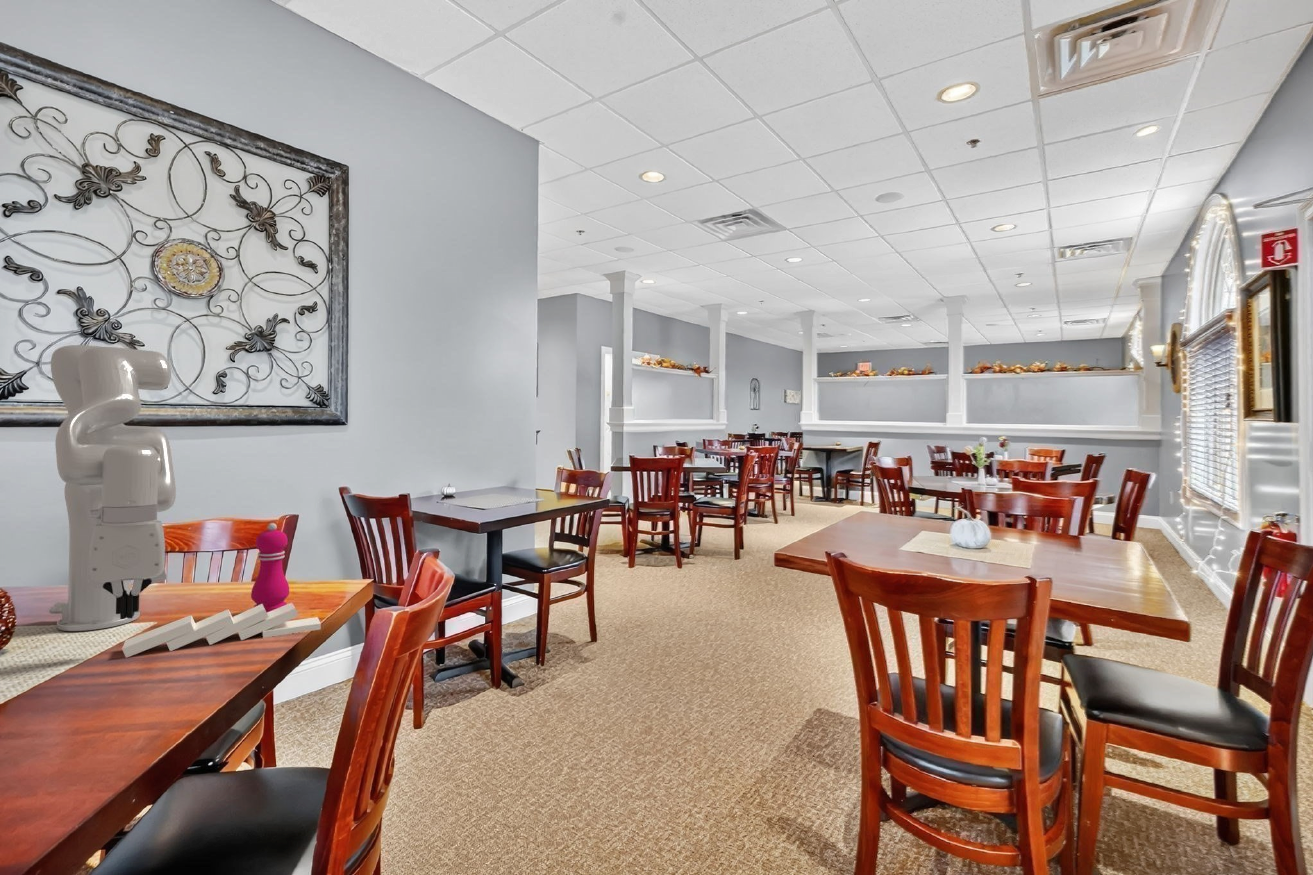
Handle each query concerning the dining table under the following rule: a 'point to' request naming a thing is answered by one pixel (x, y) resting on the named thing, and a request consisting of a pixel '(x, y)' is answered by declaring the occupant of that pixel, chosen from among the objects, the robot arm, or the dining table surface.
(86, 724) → the dining table surface
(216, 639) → the domino
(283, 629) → the domino
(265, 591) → the pepper mill
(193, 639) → the domino
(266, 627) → the domino
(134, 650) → the domino loose
